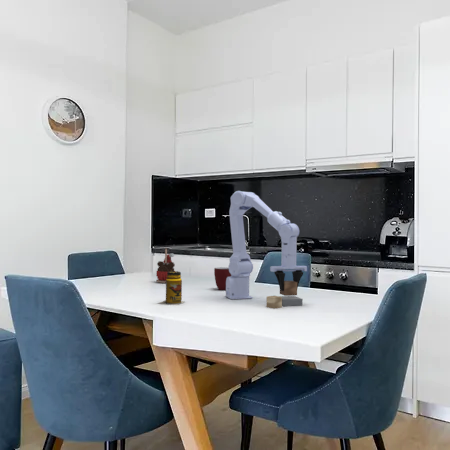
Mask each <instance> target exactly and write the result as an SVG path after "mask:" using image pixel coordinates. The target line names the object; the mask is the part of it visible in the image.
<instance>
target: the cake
mask: <svg viewBox="0 0 450 450" xmlns="http://www.w3.org/2000/svg"><path fill="white" fill-rule="evenodd" d="M173 257H175V254H174V253H168V247H164V259H163V261H162V260H161V261H160V260H159V261H158V262H157V264H156V265H157V266H158V268H157V270H156V274H155V275H156V277H157V278H156V283H160V284H166V279H167V272H170V271H175V268H174V267H175V262H173V261H172V258H173Z"/></svg>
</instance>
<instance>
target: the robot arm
mask: <svg viewBox="0 0 450 450" xmlns="http://www.w3.org/2000/svg"><path fill="white" fill-rule="evenodd" d="M251 208H253V209H255V210H256V211H258V212H259V213H260V214H262V215H263V216H264V217H266V219H267V223H269V225H270V226H271V227H273V228H274V229H275V230H276V231H277V232H278V235H279V236H280V237H279V238H281V239H280V241H281V259H280V261H281V265H272V266H270V267H269V270H270V272H271V273H272V272H273V273H274V276H275V277H276V280H277V282H278V286H279V291H280V290H281V291H284V281H285V279H286V273H285V272H291V273H292V281H295V282H297V289H298V287H299V284H300V281H301V280H302V277H303V276H304V272H308V266H307V265H297V251H298V250H297V248H298V247H297V244H298V242H297V241H298V239H297V238H298V237H299V235H300V228H299V226H298V225H297V224H296V223H292V222H291V220H290V219H287V218H286V217H284V216H283V213H282V212H281V211H277V210H275V211H273V210H272V208H271V207H269V206H268V205H267V204H266V203H265V202H264V201H263V200H262V199H261V198H260V196H259V195H257V194H256V193H255V192H252V191H241V190H236V191H235V192H234V193H232V195H231V196H230V207H229V211H228V213H229V215H228V216H229V224H230V233H231V243H232V244H231V245H232V254H231V256H230V257H229V264H228V268H229V272H230V274H231V277H227V279H226V290H225V297H226V298H228V299H230V300H244V299H245V300H246V299H253V298H254V297H253V296H251V295H250V276H251V274H252V272H253V269H254V264H253V262H252V260H251V255H249V253H248V252H247V246H246V235H245V224H244V217H243V216H244V215H245V213H246V212H247V211H249V210H250V209H251Z"/></svg>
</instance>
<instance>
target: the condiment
mask: <svg viewBox="0 0 450 450" xmlns="http://www.w3.org/2000/svg"><path fill="white" fill-rule="evenodd" d="M181 275H182V273H181V271H178V270H177V271H176V270H174V271H170V272H167V279H166V283H165V300H163V301H161V302H159V304H161V305H172V306H174V305H175V306H178V305H181V304H183V303H185V301H183V300H182V298H183V295H182V293H183V292H182V290H183V289H182V288H183V286H182V285H183V281H182V276H181Z"/></svg>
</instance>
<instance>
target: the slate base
mask: <svg viewBox="0 0 450 450" xmlns="http://www.w3.org/2000/svg"><path fill="white" fill-rule="evenodd" d="M278 296H279V295H278ZM279 297H282V307H295V306H296V307H299V306H303V298H301V297H298V296H297V295H291V296H284V295H280V296H279Z"/></svg>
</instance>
